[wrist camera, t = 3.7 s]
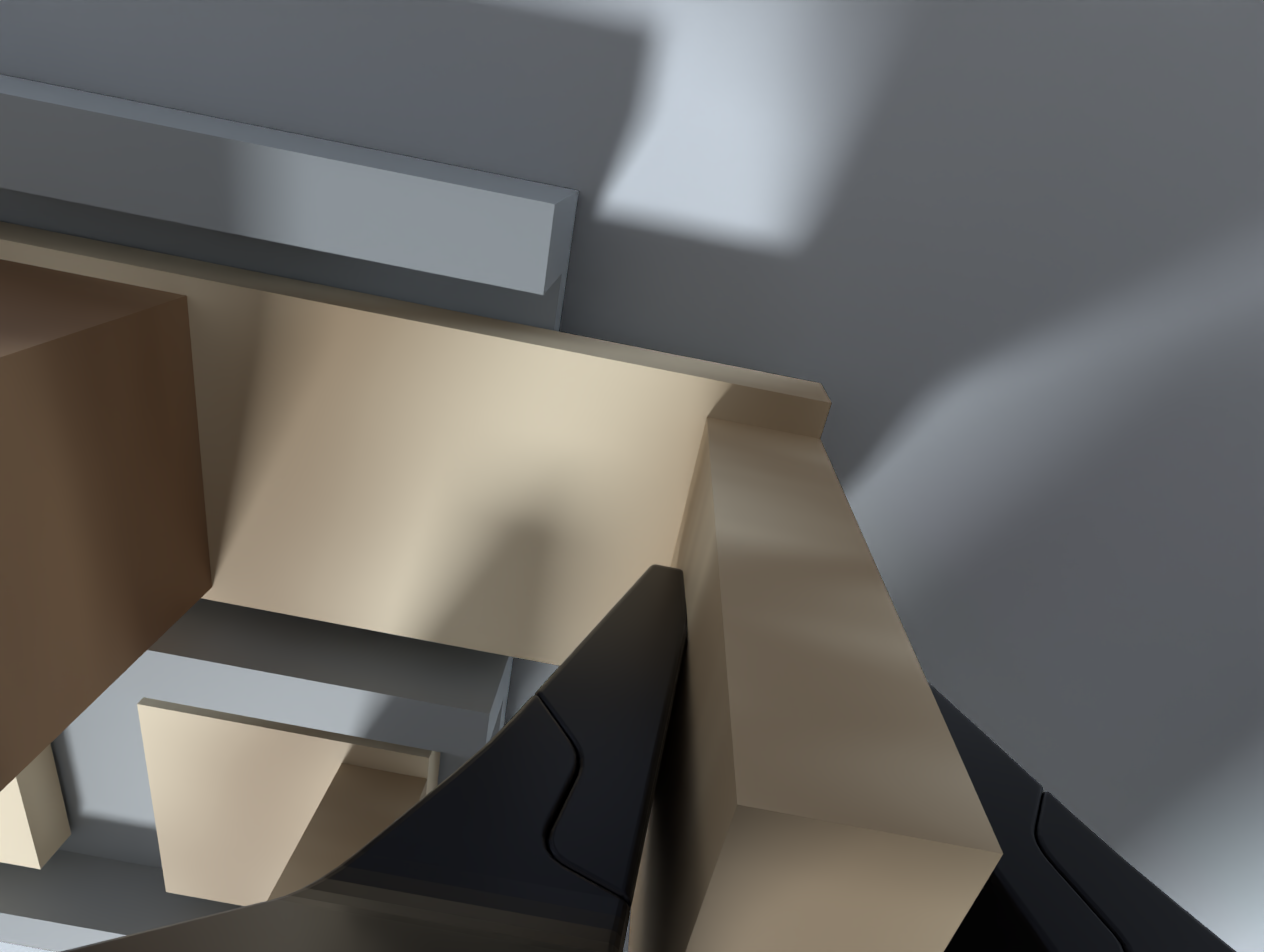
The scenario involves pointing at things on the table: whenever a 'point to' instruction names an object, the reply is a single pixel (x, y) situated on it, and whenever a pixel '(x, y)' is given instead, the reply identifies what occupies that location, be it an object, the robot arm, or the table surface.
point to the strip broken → (237, 801)
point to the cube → (90, 492)
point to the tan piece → (593, 576)
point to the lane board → (221, 632)
